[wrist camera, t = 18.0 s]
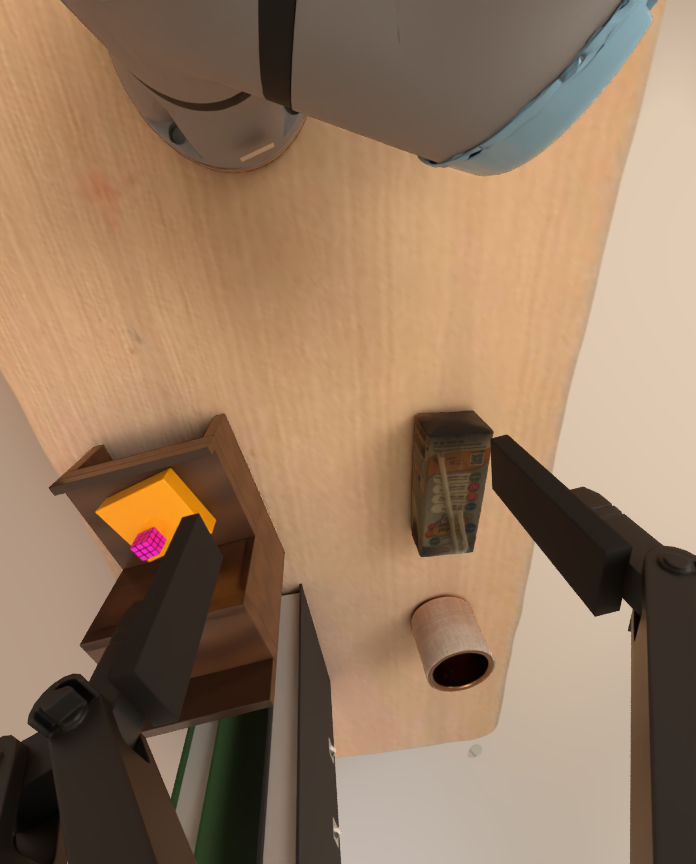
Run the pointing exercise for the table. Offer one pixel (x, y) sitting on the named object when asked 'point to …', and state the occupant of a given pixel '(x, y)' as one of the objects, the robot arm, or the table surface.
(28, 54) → the table surface
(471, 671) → the planter
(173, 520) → the orange slab
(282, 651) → the books
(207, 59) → the robot arm
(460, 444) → the beverage carton
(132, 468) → the step shelf
